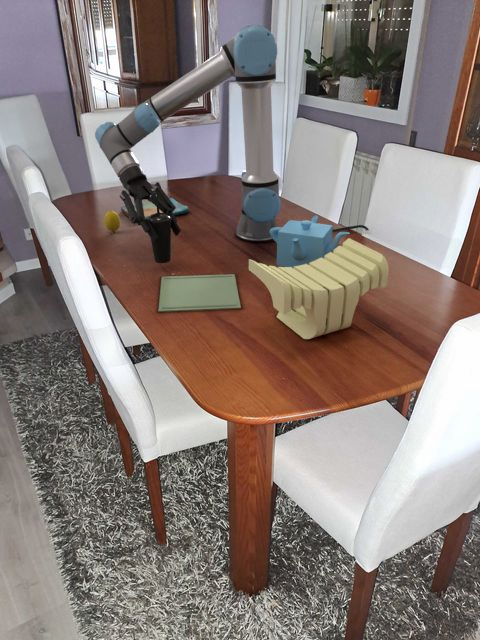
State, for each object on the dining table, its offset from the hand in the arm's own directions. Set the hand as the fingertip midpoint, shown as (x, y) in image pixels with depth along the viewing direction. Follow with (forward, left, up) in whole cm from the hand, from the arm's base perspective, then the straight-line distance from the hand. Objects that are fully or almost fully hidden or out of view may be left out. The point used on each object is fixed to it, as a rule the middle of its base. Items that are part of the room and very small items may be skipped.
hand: (167, 236), depth 157 cm
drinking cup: (+2, -3, -9) cm, 9 cm away
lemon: (+21, -37, -11) cm, 44 cm away
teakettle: (-43, +1, -11) cm, 44 cm away
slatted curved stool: (-38, +37, -11) cm, 54 cm away
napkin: (-9, +16, -11) cm, 22 cm away
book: (+7, -59, -11) cm, 60 cm away
